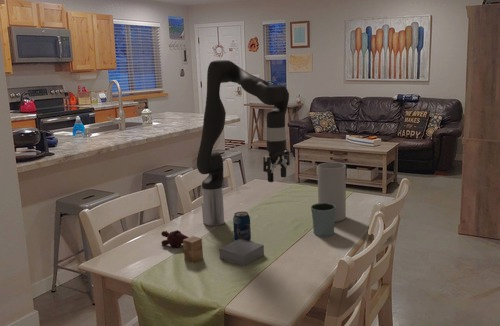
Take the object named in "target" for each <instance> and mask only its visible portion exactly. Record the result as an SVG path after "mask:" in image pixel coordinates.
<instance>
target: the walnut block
mask: <svg viewBox="0 0 500 326" xmlns="http://www.w3.org/2000/svg"><path fill="white" fill-rule="evenodd" d="M188 237H189V238H186V239H184V240H183V244H182V245H183V256H184V261H187V262H190V263H196V262H199V261H200V260H202V259H204V253H203V251H204V250H203V249H204V248H203V239H202V238H201V237H198V236H194V235H191V236H188Z"/></svg>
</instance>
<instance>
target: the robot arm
mask: <svg viewBox="0 0 500 326" xmlns="http://www.w3.org/2000/svg"><path fill="white" fill-rule="evenodd" d="M206 76H207V77H206V99H205V108H204V115H203V122H202V124H203V125H202V132H201V138H200V145H199V148H198V153H197V157H196V167H197V171H198V173H200V174H201V175H208V176H207V177H205V178H204V180H203V181H202V182H201V187H202V188H201V189H202V202H201V213H202V222H203V223H204V225H206V226H209V227H214V226H215V227H217V226H220V225H223V224H224V223H225V211H224V210H225V209H224V194H223V192H224V191H223V183H224V182H223V181H224V160H223V156H222V155H221V153H219V152H218V151H213V149H214V145H215V144H216V142H217V140H218V139H219V138H220V136H221V134H222V133H223V130H224V128H225V123H226V109H225V106H224V103H223V102H222V99H221V95H220V92H221V89H220V88H221V84H223V83H224V84H225V83H235V84H238V85H239V86H241V88H242V89H243V91H245V92H246V93H248V94H250V95H251V96H254V97H256V98H257V99H258V100H259V101H260V102H261V103H262V104H264V105H267V106H272V107H273V108H272V109H271V110H269V111H268V112H267V113H266V136H265V137H266V151H267V152H268V155H264V156H263V161H262V162H263V163H262V164H263V168H262V169H263V172H265V173H266V174H267V182H268V183H273V182H274V180H275V179H274V177H275V176H274V171H275V168H277V166H280V177H281V178H286V177H287V169H288V166H290V165H291V161H290V151H289V150H287V131H286V114H287V110H288V105H289V101H290V94H289V93H290V92H289V90H288V89H287V87H286V86H285V85H281V84H279V85H270V84H269V82H268V81H266V80H265V79H263V78H261V77H258V76H255V75H253V74H251V73H249V72H247V71H246V70H244V69H242V67H240V66H238V65H237V63H235V62H233V61H231V60H227V59H226V60H225V59H223V60H222V59H220V60H218V59H217V60H212V61H210V63H209V64H208V68H207V74H206ZM203 223H202V224H203Z"/></svg>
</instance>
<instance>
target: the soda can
mask: <svg viewBox="0 0 500 326" xmlns="http://www.w3.org/2000/svg"><path fill="white" fill-rule="evenodd" d="M232 220H233V223H232V224H233V239H234V241H236V240H238V239H243V240H247V241H251V239H252V232H251V216H250V215H249V212H248V211H237V212H235V213H234V214H233V218H232Z"/></svg>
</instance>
